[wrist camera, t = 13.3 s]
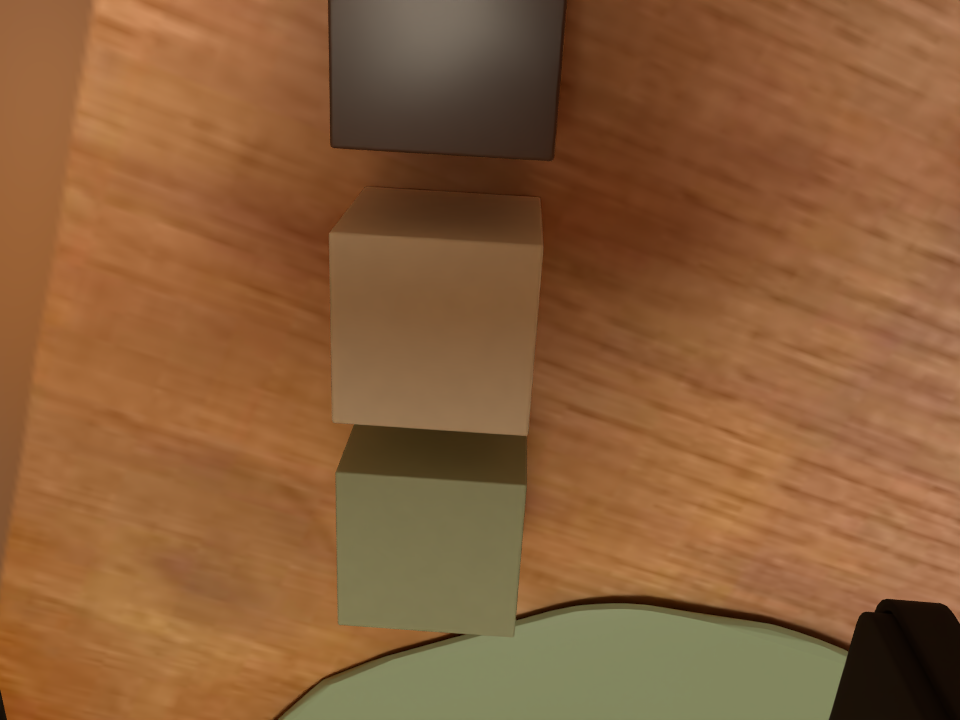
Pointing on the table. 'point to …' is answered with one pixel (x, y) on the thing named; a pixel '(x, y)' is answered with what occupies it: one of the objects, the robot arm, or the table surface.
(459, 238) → the cream block
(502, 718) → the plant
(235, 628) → the table surface
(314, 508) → the table surface
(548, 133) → the walnut block
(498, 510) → the sage block
